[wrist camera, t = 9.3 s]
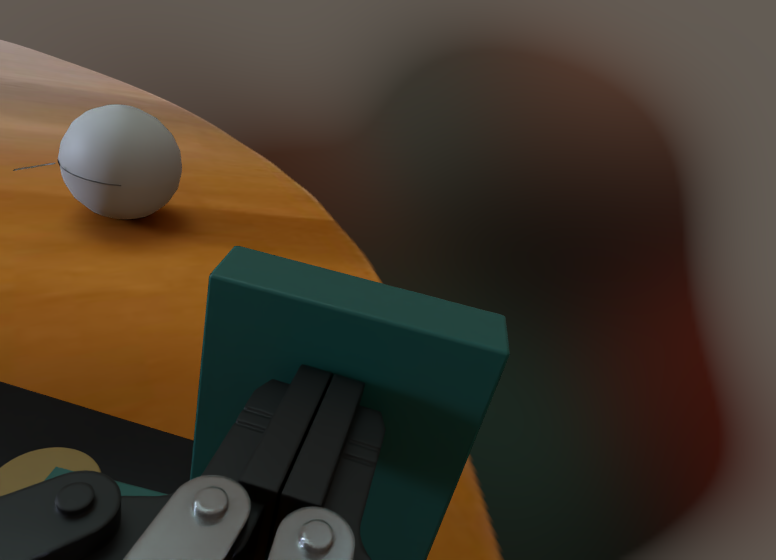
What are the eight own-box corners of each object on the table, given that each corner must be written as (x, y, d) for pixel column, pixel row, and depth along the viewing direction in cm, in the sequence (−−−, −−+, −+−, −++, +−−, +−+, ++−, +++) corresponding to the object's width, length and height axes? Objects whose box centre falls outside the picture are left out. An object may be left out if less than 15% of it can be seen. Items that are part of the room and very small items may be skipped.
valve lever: (-41, 537, 16) (-103, 212, 11) (30, 459, 19) (4, 168, 14) (396, 652, 16) (513, 374, 11) (406, 557, 19) (504, 299, 14)
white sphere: (156, 189, 44) (160, 92, 41) (195, 233, 40) (204, 128, 36) (1, 196, 38) (-10, 82, 35) (26, 249, 33) (17, 124, 30)
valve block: (-387, 612, 15) (-423, 558, 14) (-81, 397, 23) (-90, 353, 22) (153, 793, 14) (157, 751, 13) (276, 507, 22) (284, 467, 21)
